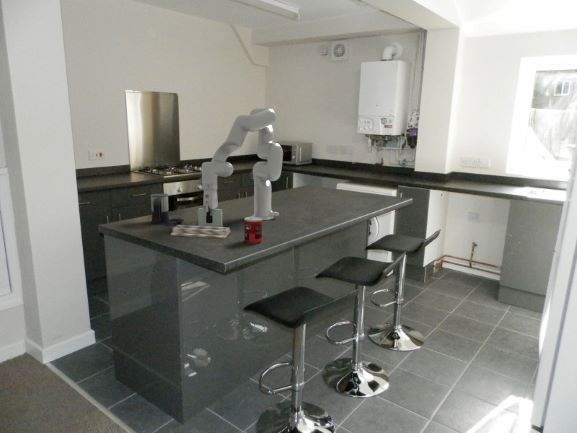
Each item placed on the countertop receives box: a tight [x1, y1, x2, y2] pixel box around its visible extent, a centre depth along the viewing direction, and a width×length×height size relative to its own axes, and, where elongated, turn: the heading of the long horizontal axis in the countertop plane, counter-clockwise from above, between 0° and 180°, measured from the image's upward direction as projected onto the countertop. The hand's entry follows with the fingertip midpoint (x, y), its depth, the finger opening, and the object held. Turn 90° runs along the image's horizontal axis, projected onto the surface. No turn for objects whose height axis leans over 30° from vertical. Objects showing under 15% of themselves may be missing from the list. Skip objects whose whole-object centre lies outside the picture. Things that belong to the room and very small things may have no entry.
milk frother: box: [150, 193, 185, 225], centre depth 219 cm, size 14×16×15 cm
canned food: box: [243, 216, 263, 245], centre depth 189 cm, size 8×8×11 cm
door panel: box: [197, 207, 224, 227], centre depth 215 cm, size 12×3×9 cm, turn 84°
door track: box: [170, 224, 232, 239], centre depth 201 cm, size 26×12×3 cm, turn 84°
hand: (210, 221), depth 215 cm, fingers closed on door panel, 3 cm apart
